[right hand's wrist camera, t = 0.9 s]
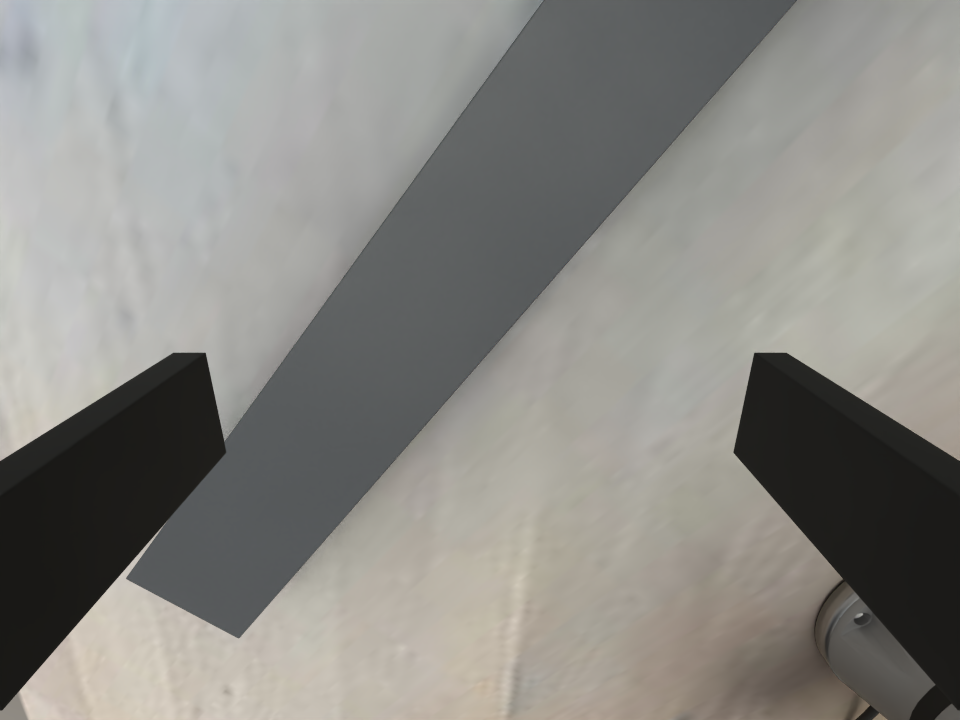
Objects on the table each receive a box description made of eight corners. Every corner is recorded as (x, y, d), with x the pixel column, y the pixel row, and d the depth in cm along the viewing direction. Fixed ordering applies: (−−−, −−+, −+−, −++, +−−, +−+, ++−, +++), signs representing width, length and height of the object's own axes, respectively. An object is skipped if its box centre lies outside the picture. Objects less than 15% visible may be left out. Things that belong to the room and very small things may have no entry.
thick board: (271, 574, 45) (238, 638, 38) (176, 519, 42) (125, 579, 36) (961, -235, 26) (1110, -358, 20) (849, -404, 24) (977, -600, 18)
